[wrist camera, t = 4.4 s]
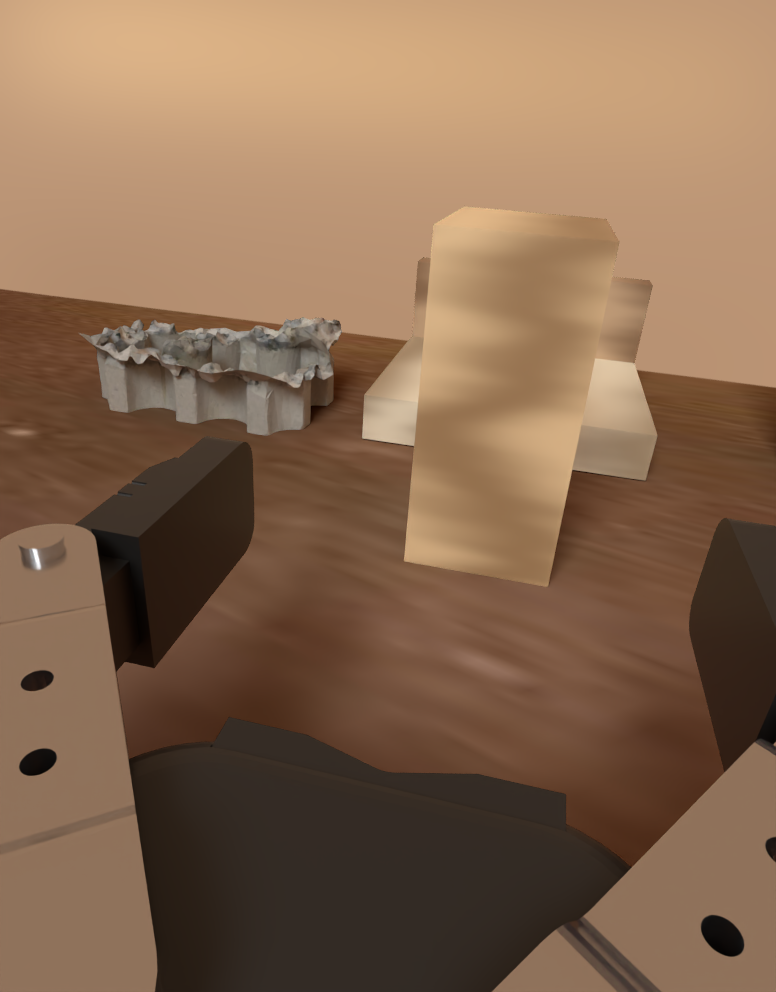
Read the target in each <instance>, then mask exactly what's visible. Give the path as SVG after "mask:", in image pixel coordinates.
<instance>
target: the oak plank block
mask: <svg viewBox="0 0 776 992" xmlns="http://www.w3.org/2000/svg"><path fill="white" fill-rule="evenodd" d="M618 246H619V240H618V239H617V237H616V235H615V233H614V232H613V230H612V228H611V226H610V225H609V223H608V221H607V219H600V218H588V217H577V216H566V215H554V214H543V213H531V212H521V211H509V210H498V209H486V208H475V207H463V208H461V209H459V210H458V211H456V212H454V213H453V214H451V215H449V216H447V217H446V218H444V219H443V220H441V221H439V222H437V223H436V224H434V228H433V239H432V251H431V261H430V273H429V284H428V295H427V307H426V318H425V329H424V341H423V352H422V363H421V375H420V386H419V397H418V409H417V420H416V431H415V443H414V454H413V465H412V477H411V488H410V499H409V511H408V522H407V533H406V545H405V556H404V561H405V562H411V563H416V564H422V565H428V566H433V567H439V568H444V569H450V570H456V571H461V572H467V573H472V574H478V575H484V576H489V577H495V578H500V579H506V580H512V581H517V582H523V583H528V584H534V585H540V586H545V587H548V584H549V579H550V574H551V570H552V565H553V560H554V555H555V550H556V545H557V541H558V536H559V531H560V526H561V521H562V516H563V512H564V507H565V502H566V497H567V492H568V487H569V483H570V478H571V473H572V468H573V463H574V459H575V454H576V449H577V444H578V439H579V434H580V430H581V425H582V420H583V415H584V410H585V405H586V401H587V396H588V391H589V386H590V381H591V377H592V372H593V367H594V362H595V357H596V352H597V348H598V343H599V338H600V333H601V328H602V323H603V319H604V314H605V309H606V304H607V299H608V294H609V290H610V285H611V280H612V275H613V270H614V265H615V261H616V256H617V251H618Z"/></svg>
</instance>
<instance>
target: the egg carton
mask: <svg viewBox="0 0 776 992" xmlns="http://www.w3.org/2000/svg"><path fill="white" fill-rule="evenodd" d="M143 326H144V325H143V323H142V322H141V321H140V320H137V321H135V322H134V323H133V325H132V326H131V328H129V327H127V326H123V327H121V326H120V327H119V328H117V329H116V330H115V331H114V330H111V329H109V328H104V330H103V333H102V334H98V335H93V336H89V335H85V334H81V333H79V334H80V335H81V336H83V337H84V338H85V339H86V340H88V341H89V342H90V343H91V344H92V345H93V346H94V347H95V348H96V349H97V360H98V364H99V372H100V380H101V384H102V397H103V398H105V399H108V402H109V407H110V410H114V411H119V412H126V413H128V412H132V411H135V410H139V409H144V408H166V409H171V410H174V411H176V420H177V421H180V422H186V423H192V424H198V423H201V422H204V421H207V420H212V419H220V418H221V419H235V420H239V421H242V422H244V423H246V424H247V432H248V433H253V434H259V435H271V434H272V433H274V432H277V431H281V430H290V429H293V430H301V429H304V428H305V427H306V426H307V425H309V424H310V415H311V406H313V405H321V406H327V405H329V404H330V403H331V402H332V401H333V384H334V371H333V366H334V358H333V357H332V355H331V354H330V352H329V348H330V346H331V345H332V346H334V344H335V343H336V342H337V341H338V337H339V335H340V334H341V333H342V330H341V324H340V322H339V321H337V320H333V321H329V320H324V319H323V318H315V319H312V320H308V319H305V318H304V317H302V318H300V319H296V320H292V321H290V320H288V319H286V321H285V323H284V324H283V326H282V327H281V328H280V329H279V331H276V330H272V329H268V328H266V327H264V326H255V327H254V328H253V329H252V330H251V331H242V332H235V331H232V330H229V329H227V328H218V329H203V328H199V329H196V330H195V331H193V330H185V331H184V332H182V333H178V332H177V331H176V329H175V326H174V324H171V325H169V324H165V323H158V322H157V321H156V320H153V321H152V322H151V325H150V328H149V329H148V330H146V331H142V329H143Z"/></svg>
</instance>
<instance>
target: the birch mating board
mask: <svg viewBox="0 0 776 992" xmlns="http://www.w3.org/2000/svg"><path fill="white" fill-rule="evenodd" d="M430 261H431V258H424V257H423V258H422V259H421V260H419V261H418V269H417V281H416V293H415V306H414V318H413V330H412V337H411V338H410V339H409V340H408V342H407V343H406V344H405V345H404V347H403V348H402V349H401V350H400V352H399V353H398V354H397V355H396V357H395V358H394V359H393V360H392V361H391V363H390V364H389V365H388V366H387V368H386V369H385V370H384V371H383V373H382V374H381V375H380V376H379V378H378V379H377V380H376V381H375V383H374V384H373V385H372V386H371V387H370V389H369V390H368V391H367V392H366V394H365V395H364V414H363V434H362V438H363V439H370V440H377V441H383V442H390V443H397V444H403V445H410V446H414V443H415V431H416V420H417V409H418V397H419V386H420V375H421V363H422V352H423V341H424V329H425V318H426V307H427V295H428V284H429V273H430ZM651 290H652V284H651V282H650V281H649V280H639V279H629V278H619V277H612V280H611V285H610V290H609V294H608V299H607V304H606V309H605V314H604V319H603V323H602V328H601V333H600V338H599V343H598V348H597V352H596V357H595V362H594V367H593V372H592V377H591V381H590V386H589V391H588V396H587V401H586V405H585V410H584V415H583V420H582V425H581V430H580V434H579V439H578V444H577V449H576V454H575V459H574V463H573V468H572V470H577V471H584V472H591V473H597V474H604V475H611V476H617V477H624V478H631V479H637V480H644V481H646V477H647V473H648V470H649V466H650V462H651V458H652V454H653V451H654V447H655V443H656V439H657V432H656V429H655V426H654V423H653V420H652V417H651V414H650V411H649V407H648V404H647V401H646V398H645V395H644V392H643V389H642V386H641V382H640V379H639V376H638V373H637V370H636V367H635V364H634V363H635V358H636V354H637V350H638V345H639V341H640V337H641V333H642V329H643V324H644V320H645V316H646V311H647V307H648V303H649V299H650V295H651Z"/></svg>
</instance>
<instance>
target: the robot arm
mask: <svg viewBox="0 0 776 992" xmlns="http://www.w3.org/2000/svg"><path fill="white" fill-rule="evenodd" d="M253 529H254V493H253V459H252V451H251V448H250V446H249V444H248V443H246V442H241V441H234V440H228V439H221V438H215V437H209V436H207V437H204V438H203V439H201V440H200V441H199V442H198V443H197V444H195V445H194V446H193V447H192V448H190V449H189V450H188V451H187V452H185V453H184V454H183V455H182V456H180V457H179V458H172V459H170V460H167V461H165V462H162V463H160V464H157V465H154V466H152V467H149V468H148V469H147V470H145V471H144V472H143V473H141V474H140V475H139V476H138V477H136V478H135V479H134V480H132V484H127V485H126V486H125V487H123V488H122V489H121V490H119V491H118V494H117V495H113V496H112V497H110V498H109V499H108V500H107V501H105V502H104V503H103V504H101V505H100V506H99V507H97V508H96V509H95V510H94V511H92V512H91V513H90V514H88V515H87V516H86V517H85V518H83V519H82V520H81V521H79V522H78V523H77V524H75V525H70V524H45V525H38V526H33V527H29V528H25V529H22V530H19V531H16V532H14V533H11V534H9V535H7V536H5V537H4V538H2V539H0V992H776V527H775V526H772V525H765V524H759V523H753V522H746V521H740V520H733V519H727V518H724V519H723V520H721V522H720V523H719V525H718V526H717V528H716V531H715V534H714V536H713V539H712V543H711V546H710V549H709V552H708V555H707V558H706V561H705V564H704V567H703V570H702V573H701V576H700V579H699V582H698V585H697V588H696V591H695V594H694V597H693V600H692V605H691V610H690V619H689V631H690V638H691V642H692V646H693V650H694V654H695V657H696V661H697V665H698V669H699V673H700V677H701V681H702V685H703V689H704V693H705V697H706V701H707V705H708V709H709V713H710V717H711V721H712V725H713V728H714V732H715V736H716V740H717V744H718V748H719V752H720V756H721V760H722V764H723V768H724V772H725V773H724V774H723V775H722V776H721V777H720V778H719V779H718V780H717V781H716V782H715V783H714V784H713V785H712V786H711V787H710V788H709V789H708V790H707V791H706V792H705V793H704V794H703V795H702V796H701V797H700V798H699V799H698V800H697V801H696V802H695V803H694V804H693V805H692V806H691V807H690V808H689V810H688V811H687V812H686V813H685V814H684V815H683V816H682V817H681V818H680V819H679V820H678V821H677V822H676V823H675V824H674V825H673V826H672V827H671V828H670V829H669V830H668V831H667V832H666V833H665V834H664V835H663V836H662V837H661V838H660V839H659V840H658V841H657V842H656V843H655V844H654V845H653V846H652V847H651V848H650V849H649V850H648V851H647V852H646V854H645V855H644V856H643V857H642V858H641V859H640V860H639V861H638V862H637V863H636V864H635V865H634V866H633V867H632V868H631V867H630V866H629V865H628V864H627V863H626V862H625V861H623V860H622V859H621V858H620V857H619V856H617V855H616V854H614V853H613V852H612V851H610V850H609V849H608V848H606V847H605V846H604V845H602V844H601V843H599V842H598V841H596V840H594V839H592V838H591V837H589V836H587V835H586V834H584V833H582V832H581V831H579V830H577V829H575V828H573V827H571V826H569V825H567V824H566V794H563V793H558V792H554V791H549V790H545V789H541V788H536V787H532V786H528V785H523V784H519V783H515V782H510V781H506V780H501V779H497V778H493V777H488V776H484V775H480V774H441V773H392V772H385V771H381V770H379V769H376V768H374V767H372V766H370V765H368V764H366V763H364V762H362V761H360V760H358V759H356V758H354V757H351V756H349V755H347V754H345V753H343V752H341V751H339V750H337V749H335V748H333V747H331V746H329V745H327V744H325V743H322V742H320V741H318V740H316V739H314V738H312V737H310V736H308V735H305V734H301V733H296V732H292V731H288V730H283V729H279V728H274V727H270V726H266V725H261V724H257V723H253V722H248V721H244V720H240V719H235V718H231V717H229V718H228V720H227V721H226V723H225V725H224V726H223V728H222V730H221V731H220V733H219V735H218V737H217V738H216V740H215V742H196V743H186V744H180V745H175V746H169V747H164V748H161V749H157V750H154V751H150V752H147V753H144V754H141V755H139V756H136V757H133V758H131V759H129V752H128V746H127V739H126V732H125V726H124V719H123V712H122V706H121V699H120V693H119V686H118V679H117V673H116V671H117V670H118V669H119V668H120V667H121V666H122V664H123V663H124V662H129V663H134V664H138V665H143V666H147V667H152V668H155V667H156V665H157V664H158V663H159V661H160V660H161V659H162V658H163V656H164V655H165V654H166V653H167V651H168V650H169V649H170V648H171V646H172V645H173V644H174V642H175V641H176V640H177V639H178V637H179V636H180V635H181V634H182V632H183V631H184V630H185V628H186V627H187V626H188V625H189V623H190V622H191V621H192V620H193V618H194V617H195V616H196V615H197V613H198V612H199V611H200V609H201V608H202V607H203V606H204V604H205V603H206V602H207V601H208V599H209V598H210V597H211V595H212V594H213V593H214V592H215V590H216V589H217V588H218V587H219V585H220V584H221V583H222V582H223V580H224V579H225V578H226V576H227V575H228V574H229V573H230V571H231V570H232V569H233V568H234V566H235V565H236V564H237V562H238V561H239V560H240V559H241V557H242V556H243V555H244V554H245V552H246V551H247V549H248V547H249V544H250V541H251V538H252V534H253Z"/></svg>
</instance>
